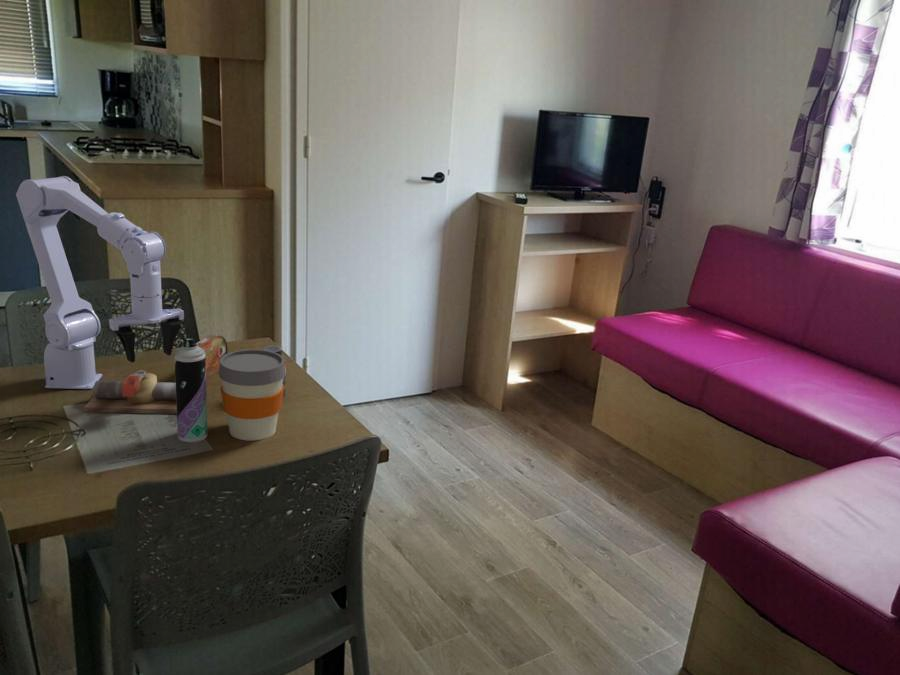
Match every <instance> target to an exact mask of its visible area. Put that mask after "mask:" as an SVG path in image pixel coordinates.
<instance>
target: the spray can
mask: <svg viewBox="0 0 900 675" xmlns="http://www.w3.org/2000/svg"><path fill="white" fill-rule="evenodd" d="M196 343H197V342H195V339H194V338H188V337H187V338H184V343H183V344H181V347H179V348H177V349H175V350H174V376H175V377H174V379H175V380H174V381H175V382H174V383H176V406H177V414H176V424H177V426H176V427H177V439H178V440H179V441H181V442H184V443H198V442H202V441H204V440H206V439H207V437H208V403H207V402H208V400H207V379H206V360H205V350H204V349H203V348H200V347H198V345H197V344H196Z"/></svg>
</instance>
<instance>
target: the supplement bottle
mask: <svg viewBox="0 0 900 675" xmlns="http://www.w3.org/2000/svg"><path fill="white" fill-rule="evenodd" d="M262 350H267V351H272V352H275V353H277V354H279V355H281V356H282V357H283V358H284V363H285V372H286V373H285V376H284V377H283V383H282V384H283V385H284V391H283V398H284V397H285V396H286V384H287V383H286V380H287V379H286V376H287V375H286V374H287V371H286V370H287V364H286V363H287V360H286V358H285V356H283V355H282V347H281V346H279V345H278V346H277V345H266V346H264V347H263V348H262Z"/></svg>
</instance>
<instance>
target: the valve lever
mask: <svg viewBox="0 0 900 675" xmlns="http://www.w3.org/2000/svg"><path fill="white" fill-rule="evenodd" d="M146 373H147V371H146V370H144V369H139V370H136V371H135V373H134V374H135V376H129V375H127V376H128V377H127V376H126V377H127V378H126V377H125V379H124V382H123V383H122V393H123V396H125V397H135V395H136V394H137V392H138V391H139V389H140V382H141V380H142V379H144V378H146Z"/></svg>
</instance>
